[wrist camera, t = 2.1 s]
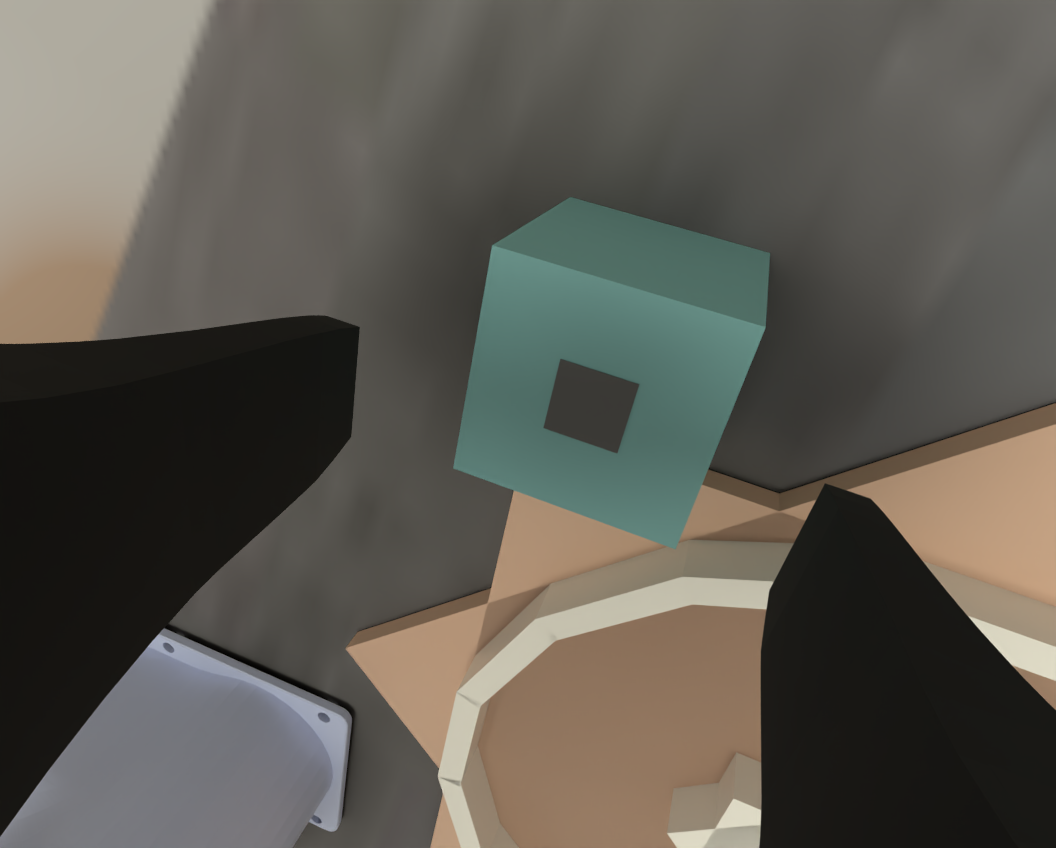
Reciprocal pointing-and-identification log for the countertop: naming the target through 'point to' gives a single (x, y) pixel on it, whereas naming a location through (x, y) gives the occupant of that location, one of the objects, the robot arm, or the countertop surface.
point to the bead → (610, 364)
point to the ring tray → (685, 645)
